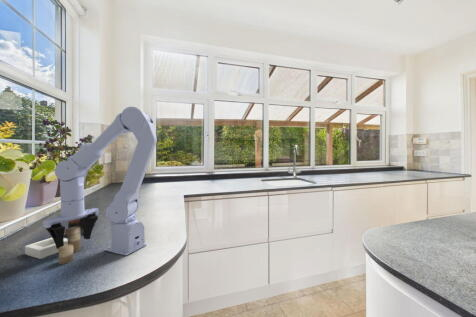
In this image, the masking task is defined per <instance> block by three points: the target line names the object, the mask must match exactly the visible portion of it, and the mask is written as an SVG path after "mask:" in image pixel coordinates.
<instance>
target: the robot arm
mask: <svg viewBox="0 0 476 317" xmlns="http://www.w3.org/2000/svg"><path fill="white" fill-rule="evenodd" d="M127 133H132V134H133V135H134V138H136V140H137V143H136V144H137V145H136V147H135V149H134V152H133V155H132V158H131V160H130V162H129V166H128V169H127V171H126V174H125V177H124V179H123V181H122V185H121V187H120V189H119V191H118V192H116V194H115V196H114V197H113V200H112V202H111V203H110V204H108V206H107V207H106V209H105V215H106V219H107V220H108V221H109V222H110V243H111V244H110V246H108V247H105V248H104V251H105V252H108V253H109V252H110V253H114V254H118V255H122V256H128V255H130V254H132V253H134V252H135V251H138V250H140V249H141V248H143V247H145V246H147V245H148V244H147V242H146V241H145V226H144V223H143V222H141V221H139V220H138V218H137V214H136V212H137V211H138V210H139V198H140V192H139V191H140V189H141V185H142V183H143V180H144V178H145V175H146V172H147V169H148V168H149V167H148V166H149V164H150V162H151V159H152V156H153V153H154V151H155V147H156V145H157V142H158V139H157V137H158V136H157V132H156V129H155V121H154V120H153V119H152V117H151V116H150V114H148V113H147V112H144V111H142V110H141V109H139V108H138V107H135V106H128V107H126V108H124V109H123V110H122V112H120V113H119V114H117V115H116V116H115V118H114V119H113V121H112V122H111V124H109V125H108V126H107V128H105V130H104V131H103V132H101V133H100V135H99V136H98V137H97V138H96V139H95V140H94V141H93V142H86V143H85V144H84V143H82V144H80V145H79V148H78V150H77V151H76V152H74V154H72V155H70V156H68V157H67V160H62V161H59V162H58V163H57V165H56V166H55V168H54V175H55V176H56V178H57V179H59V186H60V187H59V188H60V215H56V216H53V217H51V218H48V219H44V220H42V228H45V230H46V231H47V232H48V233H49V235H50V236H51V238H53V240H54V242H55V245H56V248H57V249H59V248H60V247H62V246H64V239H63V238H65V237H64V236H65V230H66V226H64V225H62V224H65V223H68V222H69V221H73V220H76V219H80V218H81V220H82V225H83V230H82V231H83V232H82V234H83V239H85V240H90V239H91V236H92V232H93V230H94V227H95V225H96V223H97V221H98V220H99V216H98V215H99V212H100V210H99V207H98V208H97V207H93V208H88V209H85V177H86V176H87V175H88V172H89V169H90V168H91V167H92V166H93V165H95V164H96V162H98V161H99V160H100V159H101V158H103V156H104V150H105V149H106V148H107V147H108V146H109V145H111V144H112V143H114V141H116V139H118V138H119V137H120V136H122V135H123V134H127ZM94 224H95V225H94Z"/></svg>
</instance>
